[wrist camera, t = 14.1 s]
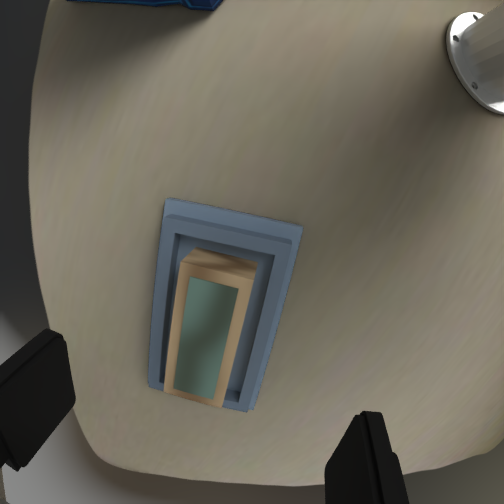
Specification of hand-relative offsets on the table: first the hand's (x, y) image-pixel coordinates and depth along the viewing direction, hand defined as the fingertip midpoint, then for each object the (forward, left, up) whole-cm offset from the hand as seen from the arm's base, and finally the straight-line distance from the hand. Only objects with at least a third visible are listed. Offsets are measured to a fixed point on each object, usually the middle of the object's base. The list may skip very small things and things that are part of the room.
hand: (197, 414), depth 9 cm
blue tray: (+3, +8, -23) cm, 25 cm away
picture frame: (+2, +8, -22) cm, 23 cm away
